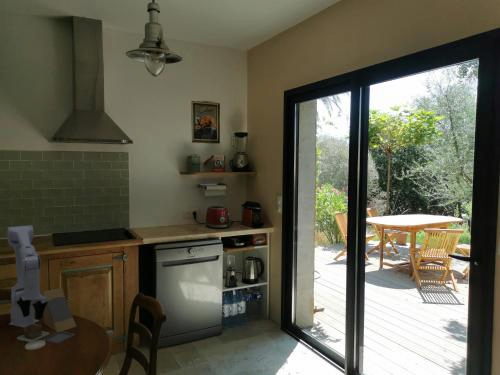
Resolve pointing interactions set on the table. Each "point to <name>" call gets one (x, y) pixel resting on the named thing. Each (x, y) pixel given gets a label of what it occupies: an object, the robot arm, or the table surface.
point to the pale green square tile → (33, 339)
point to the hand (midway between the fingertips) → (32, 317)
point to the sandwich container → (57, 311)
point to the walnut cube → (33, 331)
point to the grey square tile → (58, 337)
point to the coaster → (35, 345)
